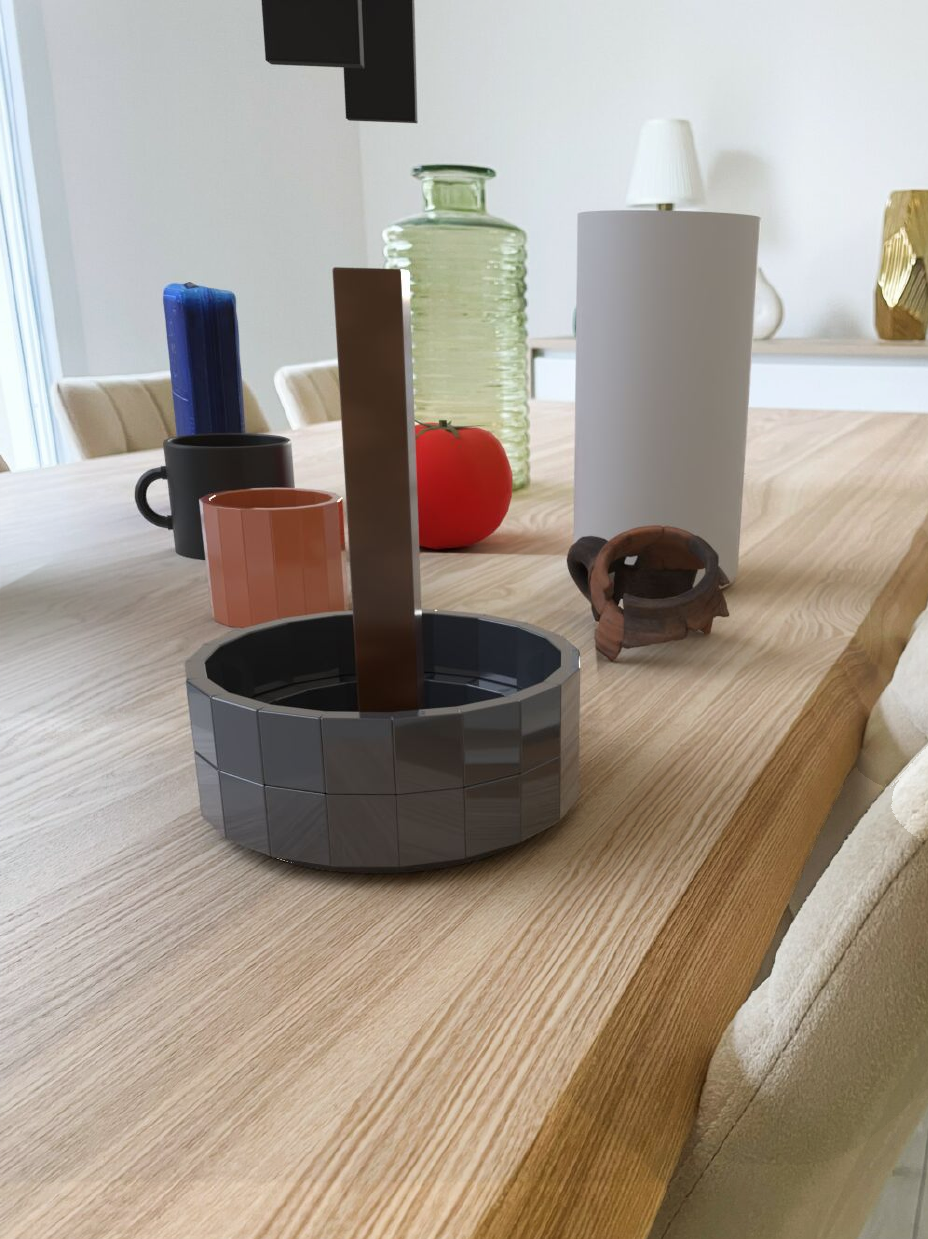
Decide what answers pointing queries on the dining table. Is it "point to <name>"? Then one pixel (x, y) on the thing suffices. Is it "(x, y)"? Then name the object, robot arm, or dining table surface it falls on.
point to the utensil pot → (273, 554)
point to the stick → (380, 484)
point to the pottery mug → (648, 586)
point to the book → (204, 359)
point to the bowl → (384, 743)
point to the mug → (212, 478)
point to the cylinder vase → (664, 373)
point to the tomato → (459, 484)
